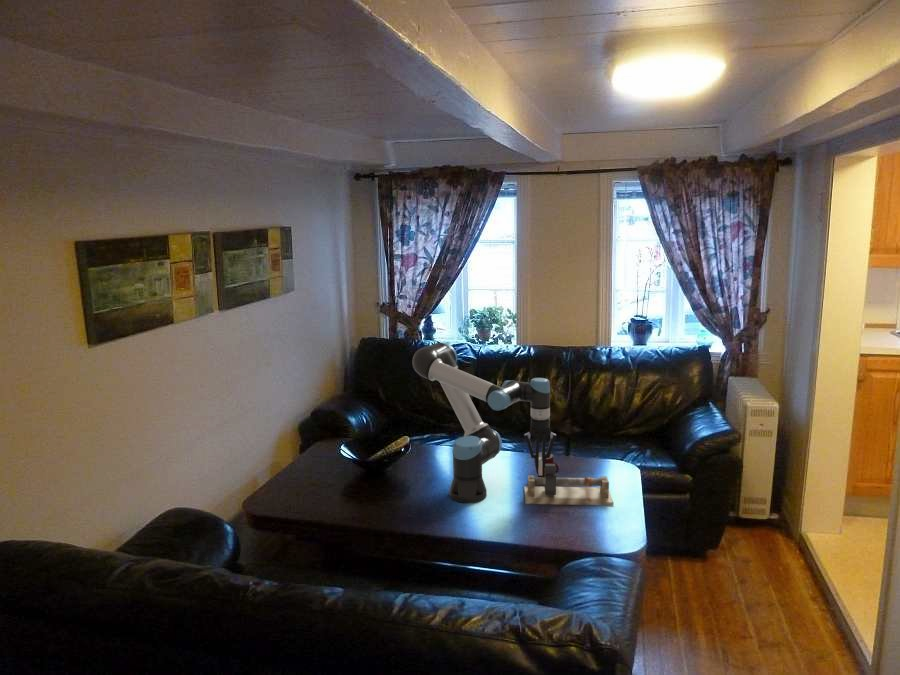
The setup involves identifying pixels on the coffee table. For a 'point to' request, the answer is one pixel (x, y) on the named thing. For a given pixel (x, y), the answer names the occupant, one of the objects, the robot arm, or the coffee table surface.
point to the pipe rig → (569, 491)
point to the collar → (550, 479)
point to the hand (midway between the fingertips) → (540, 474)
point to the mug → (547, 461)
